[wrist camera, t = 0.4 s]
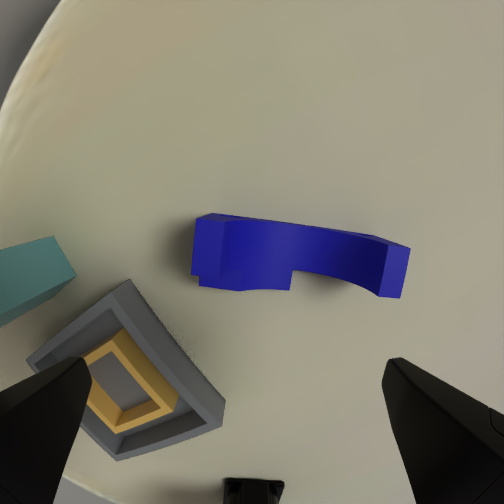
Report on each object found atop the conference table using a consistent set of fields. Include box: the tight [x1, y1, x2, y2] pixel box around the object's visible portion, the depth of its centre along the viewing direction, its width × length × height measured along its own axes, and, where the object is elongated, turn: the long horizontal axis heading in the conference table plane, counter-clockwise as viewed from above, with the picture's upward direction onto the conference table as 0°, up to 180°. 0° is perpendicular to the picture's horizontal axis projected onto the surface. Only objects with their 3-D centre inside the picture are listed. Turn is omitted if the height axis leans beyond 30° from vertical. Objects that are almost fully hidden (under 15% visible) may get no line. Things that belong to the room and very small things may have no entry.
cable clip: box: [191, 213, 411, 298], centre depth 19 cm, size 12×4×6 cm, turn 83°
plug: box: [0, 236, 77, 328], centre depth 16 cm, size 4×4×13 cm
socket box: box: [26, 279, 226, 461], centre depth 22 cm, size 13×13×4 cm
